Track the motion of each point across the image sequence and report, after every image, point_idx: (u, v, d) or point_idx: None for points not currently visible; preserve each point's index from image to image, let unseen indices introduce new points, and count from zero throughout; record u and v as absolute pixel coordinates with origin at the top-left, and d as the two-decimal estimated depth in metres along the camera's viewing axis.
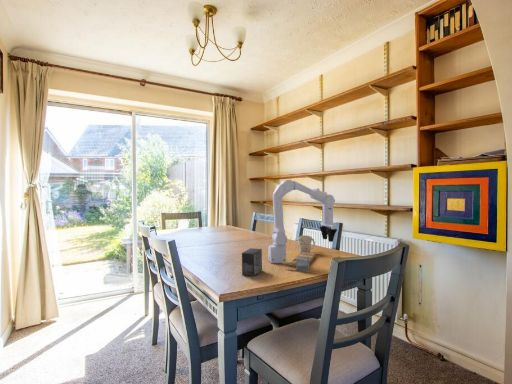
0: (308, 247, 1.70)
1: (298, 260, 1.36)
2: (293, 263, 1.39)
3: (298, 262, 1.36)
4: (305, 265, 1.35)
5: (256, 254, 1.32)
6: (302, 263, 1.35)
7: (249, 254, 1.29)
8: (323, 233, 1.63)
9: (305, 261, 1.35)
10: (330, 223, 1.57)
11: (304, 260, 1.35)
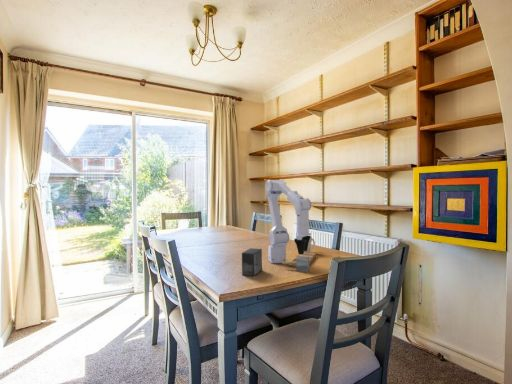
0: (308, 247, 1.70)
1: (298, 260, 1.36)
2: (293, 263, 1.39)
3: (298, 262, 1.36)
4: (305, 265, 1.35)
5: (256, 254, 1.32)
6: (302, 263, 1.35)
7: (249, 254, 1.29)
8: None
9: (305, 261, 1.35)
10: (301, 233, 1.34)
11: (304, 260, 1.35)
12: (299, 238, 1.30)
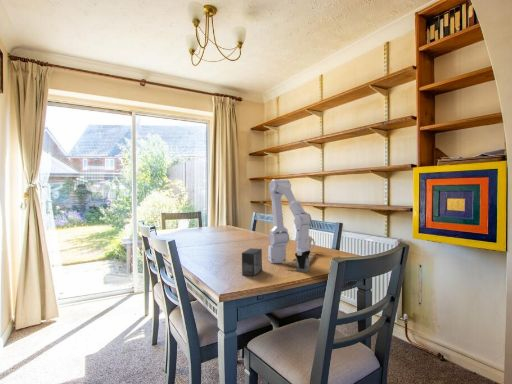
0: None
1: None
2: (293, 263, 1.39)
3: None
4: (305, 265, 1.35)
5: (256, 254, 1.32)
6: None
7: (249, 254, 1.29)
8: None
9: (305, 261, 1.35)
10: (302, 248, 1.35)
11: None
12: (299, 254, 1.31)
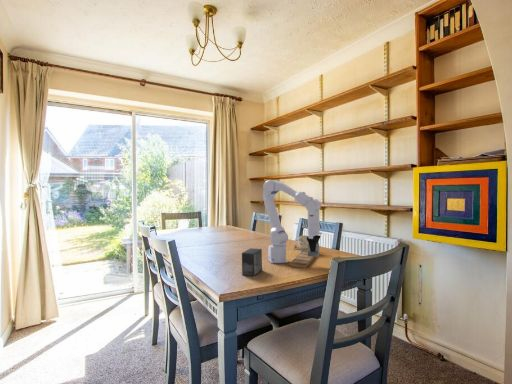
0: None
1: (309, 246, 1.43)
2: (304, 249, 1.46)
3: (308, 248, 1.43)
4: (316, 250, 1.42)
5: (256, 254, 1.32)
6: None
7: (249, 254, 1.29)
8: None
9: (316, 246, 1.42)
10: (313, 232, 1.41)
11: None
12: (311, 237, 1.37)
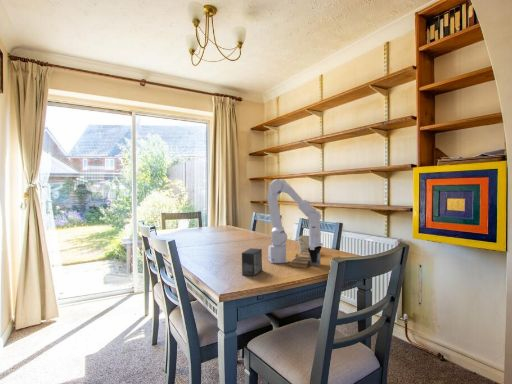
0: (308, 247, 1.70)
1: None
2: (306, 258, 1.48)
3: (310, 257, 1.46)
4: (317, 259, 1.45)
5: (256, 254, 1.32)
6: None
7: (249, 254, 1.29)
8: None
9: (317, 256, 1.45)
10: (314, 243, 1.45)
11: None
12: (312, 248, 1.40)
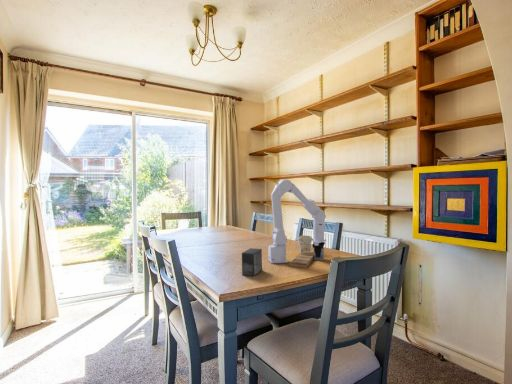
0: (308, 247, 1.70)
1: None
2: (310, 253, 1.59)
3: (314, 252, 1.57)
4: (321, 254, 1.56)
5: (256, 254, 1.32)
6: None
7: (249, 254, 1.29)
8: None
9: (321, 251, 1.56)
10: (318, 239, 1.55)
11: None
12: (316, 244, 1.51)
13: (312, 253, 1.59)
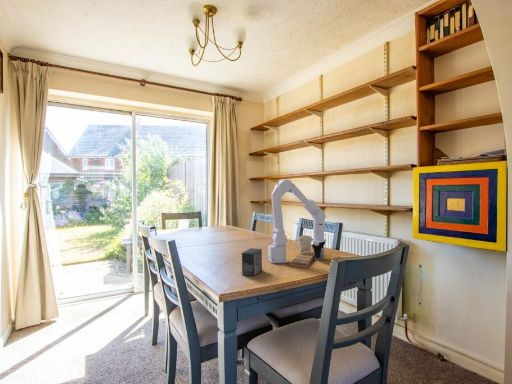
0: (308, 247, 1.70)
1: None
2: (310, 253, 1.59)
3: (314, 252, 1.57)
4: (321, 254, 1.56)
5: (256, 254, 1.32)
6: None
7: (249, 254, 1.29)
8: None
9: (321, 251, 1.56)
10: (318, 239, 1.56)
11: None
12: (316, 244, 1.51)
13: (312, 253, 1.59)
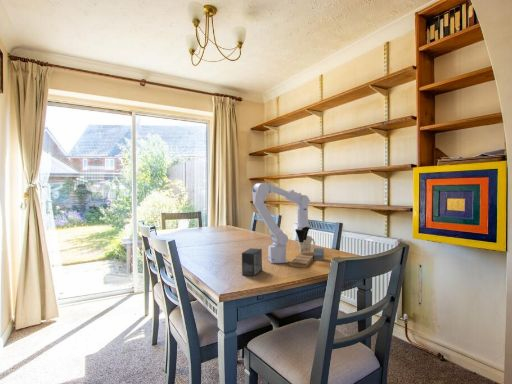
0: (308, 247, 1.70)
1: (315, 250, 1.57)
2: (310, 253, 1.59)
3: (314, 252, 1.57)
4: (321, 254, 1.56)
5: (256, 254, 1.32)
6: (318, 253, 1.56)
7: (249, 254, 1.29)
8: None
9: (321, 251, 1.56)
10: (302, 224, 1.57)
11: (320, 250, 1.56)
12: (299, 228, 1.52)
13: (312, 253, 1.59)
